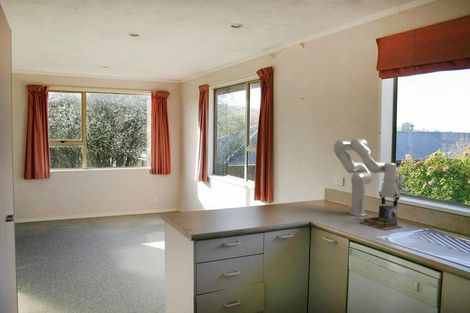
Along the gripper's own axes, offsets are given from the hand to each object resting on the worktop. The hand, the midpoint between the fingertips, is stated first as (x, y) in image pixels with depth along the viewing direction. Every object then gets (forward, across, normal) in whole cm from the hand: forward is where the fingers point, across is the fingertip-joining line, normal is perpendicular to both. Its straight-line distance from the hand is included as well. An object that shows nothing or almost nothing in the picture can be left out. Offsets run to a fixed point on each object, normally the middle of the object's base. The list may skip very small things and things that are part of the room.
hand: (389, 205), depth 265 cm
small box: (+12, -1, 0) cm, 12 cm away
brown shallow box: (+11, +6, -16) cm, 21 cm away
